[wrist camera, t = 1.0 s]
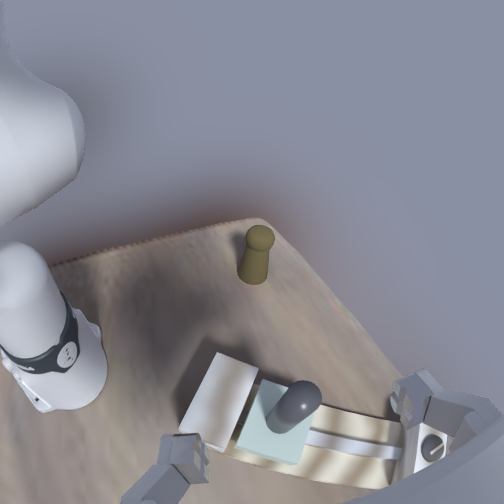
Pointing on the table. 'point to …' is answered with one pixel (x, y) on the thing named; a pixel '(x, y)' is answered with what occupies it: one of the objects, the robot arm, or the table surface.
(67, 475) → the table surface
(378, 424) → the rail track
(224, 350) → the table surface
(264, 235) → the olive brown pepper mill
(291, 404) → the carriage
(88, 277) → the table surface
